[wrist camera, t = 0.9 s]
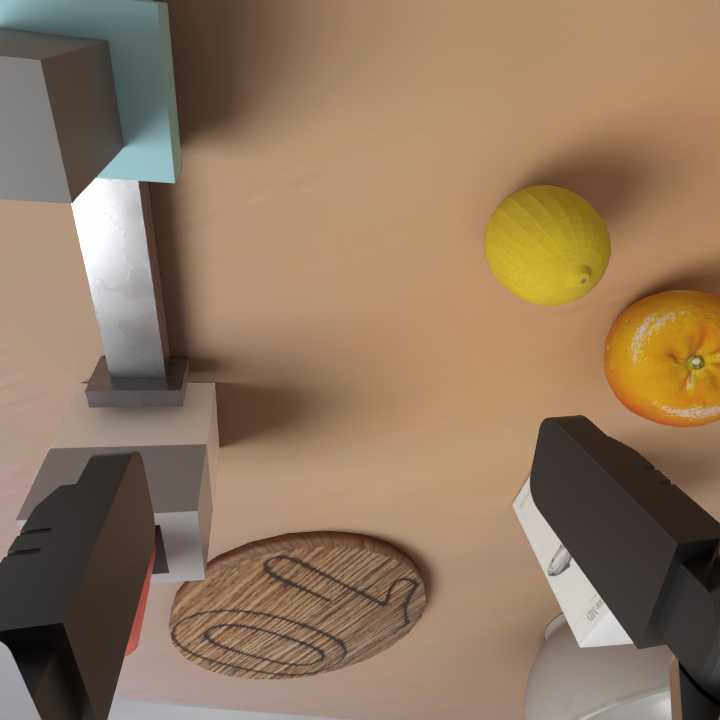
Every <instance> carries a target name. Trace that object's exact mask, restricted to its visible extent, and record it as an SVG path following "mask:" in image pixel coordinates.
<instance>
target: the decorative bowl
mask: <svg viewBox="0 0 720 720" xmlns="http://www.w3.org/2000/svg"><path fill="white" fill-rule="evenodd" d="M544 636H545V640H546V642H545V644H544V645H543V646H542V648H541V649H540V651H539V652H538V654H537V656H536V658H535V660H534V662H533V665H532V667H531V670H530V673H529V677H528V680H527V685H526V690H525V697H524V707H523V720H672V715H671V696H670V676H669V668H670V664H671V661H672V658H673V656H674V654H673V653H672V651H671V650H670V649H669V647H668V646H667V645H662V646H656V647H650V648H644V649H638V648H637V647H636V646H635V644H634V643H632V644H622V645H610V646H598V647H583V648H580V647H579V645H578V642H577V640H576V638H575V636H574V634H573V632H572V630H571V628H570V626H569V624H568V621H567V619H566V617H565V615H564V613H562V614H560V615H559V616H557V617H556V618H555V619H554V620H553V621H552V622H551V623H550V624H549V625H548V627H547V628H546V630H545V633H544Z"/></svg>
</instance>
